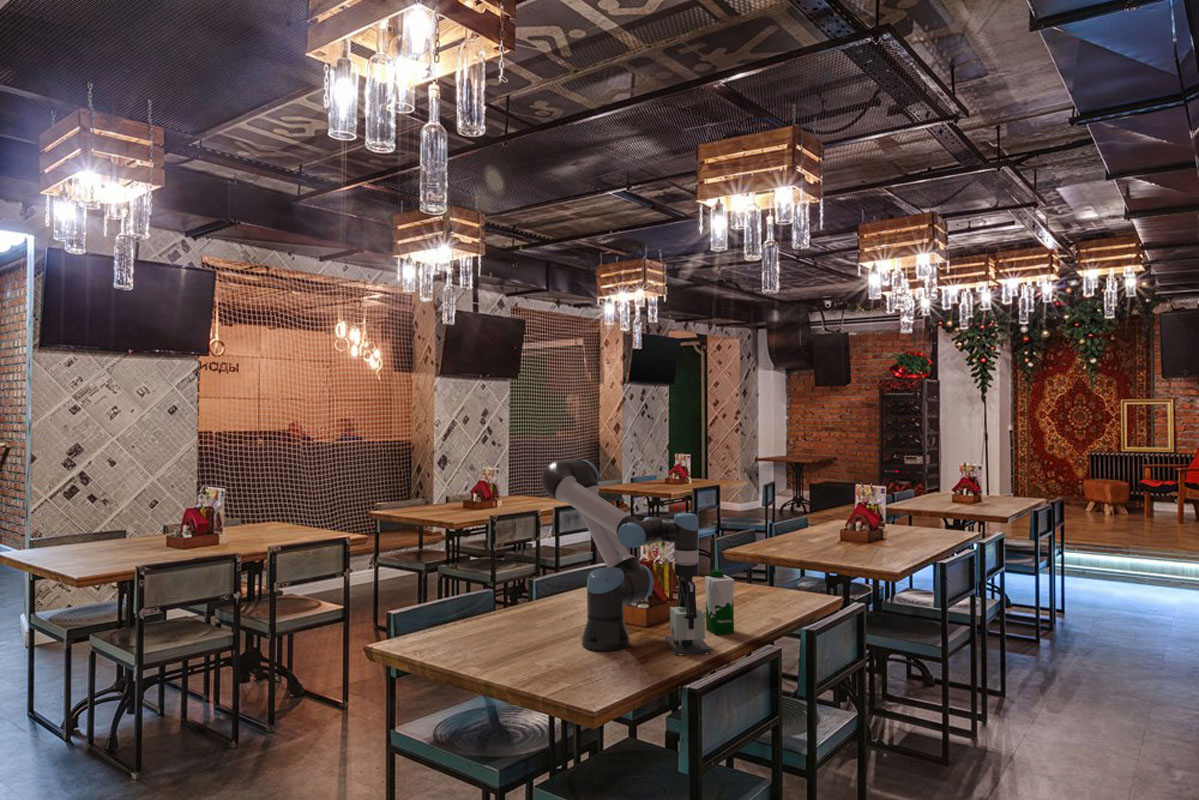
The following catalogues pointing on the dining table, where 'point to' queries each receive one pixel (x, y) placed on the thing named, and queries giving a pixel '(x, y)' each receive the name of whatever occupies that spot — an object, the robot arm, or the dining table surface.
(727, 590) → the milk carton
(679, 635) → the notched green box
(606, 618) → the robot arm
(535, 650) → the dining table surface
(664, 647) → the dining table surface
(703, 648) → the base plate
